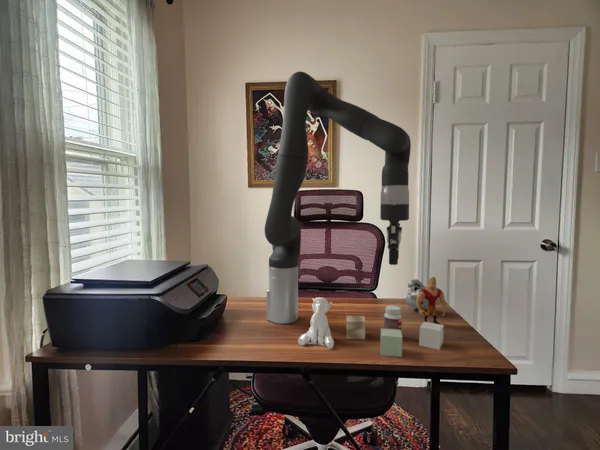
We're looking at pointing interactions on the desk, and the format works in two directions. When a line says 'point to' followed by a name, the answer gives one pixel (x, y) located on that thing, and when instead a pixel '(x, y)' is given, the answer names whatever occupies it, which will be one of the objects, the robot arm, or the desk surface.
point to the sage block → (391, 342)
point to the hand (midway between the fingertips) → (393, 261)
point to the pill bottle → (393, 318)
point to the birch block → (355, 327)
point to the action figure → (431, 299)
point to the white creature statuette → (318, 326)
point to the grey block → (431, 335)
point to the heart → (415, 294)
